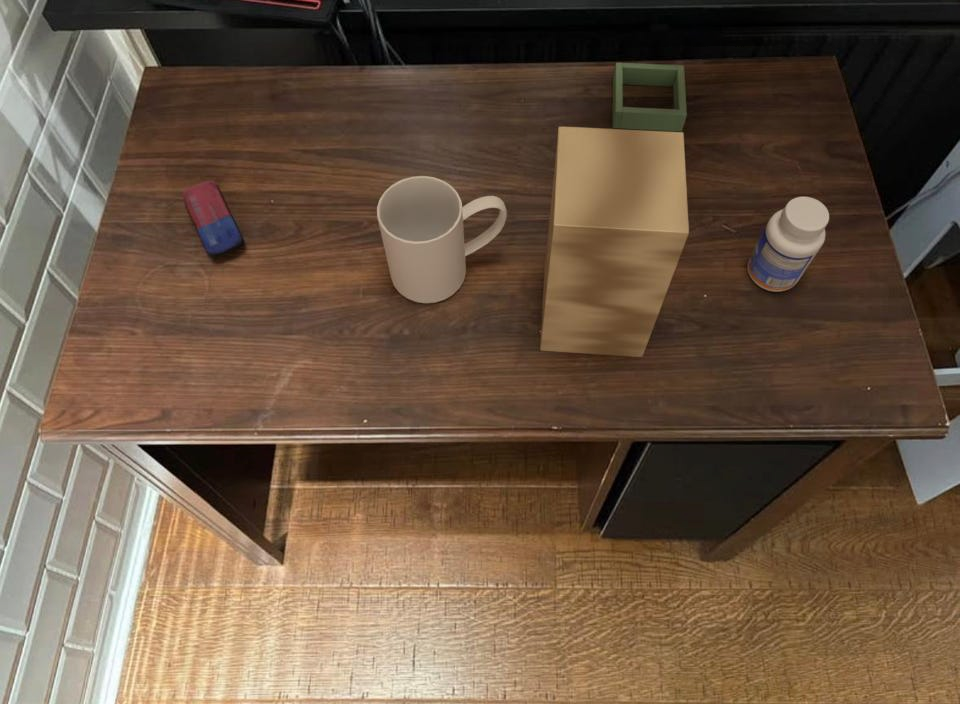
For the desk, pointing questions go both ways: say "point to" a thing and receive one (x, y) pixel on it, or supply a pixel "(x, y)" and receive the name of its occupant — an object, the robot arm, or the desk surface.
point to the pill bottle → (788, 244)
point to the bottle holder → (649, 116)
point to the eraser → (213, 219)
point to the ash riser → (612, 238)
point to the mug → (430, 236)
